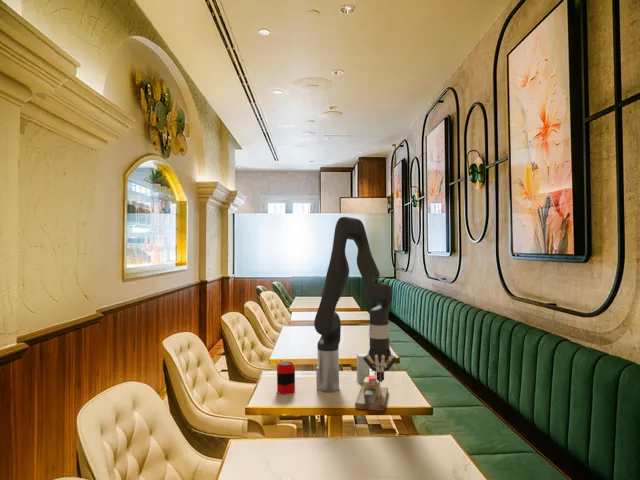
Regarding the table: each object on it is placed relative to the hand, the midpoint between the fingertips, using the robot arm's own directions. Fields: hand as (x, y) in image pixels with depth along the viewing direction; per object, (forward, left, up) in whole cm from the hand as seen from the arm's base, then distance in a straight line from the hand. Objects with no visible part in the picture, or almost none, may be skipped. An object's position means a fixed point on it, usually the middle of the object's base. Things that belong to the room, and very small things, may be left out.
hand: (380, 381), depth 158 cm
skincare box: (-10, +29, -11) cm, 33 cm away
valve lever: (-4, +4, -1) cm, 5 cm away
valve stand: (-4, +8, -11) cm, 14 cm away
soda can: (-41, +10, -11) cm, 44 cm away
